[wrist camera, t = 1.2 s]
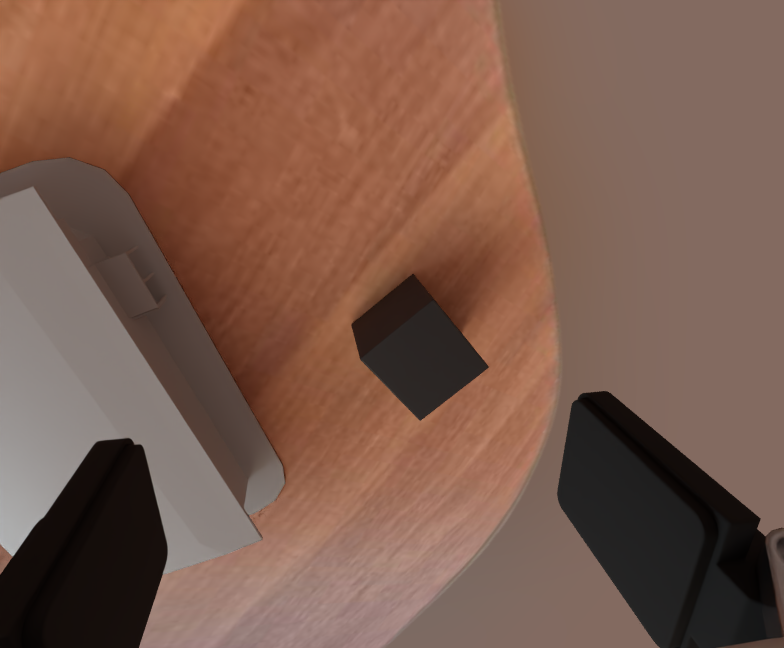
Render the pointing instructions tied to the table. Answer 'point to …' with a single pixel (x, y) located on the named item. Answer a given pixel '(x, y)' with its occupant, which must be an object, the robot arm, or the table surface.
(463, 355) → the box
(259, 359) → the table surface
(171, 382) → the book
